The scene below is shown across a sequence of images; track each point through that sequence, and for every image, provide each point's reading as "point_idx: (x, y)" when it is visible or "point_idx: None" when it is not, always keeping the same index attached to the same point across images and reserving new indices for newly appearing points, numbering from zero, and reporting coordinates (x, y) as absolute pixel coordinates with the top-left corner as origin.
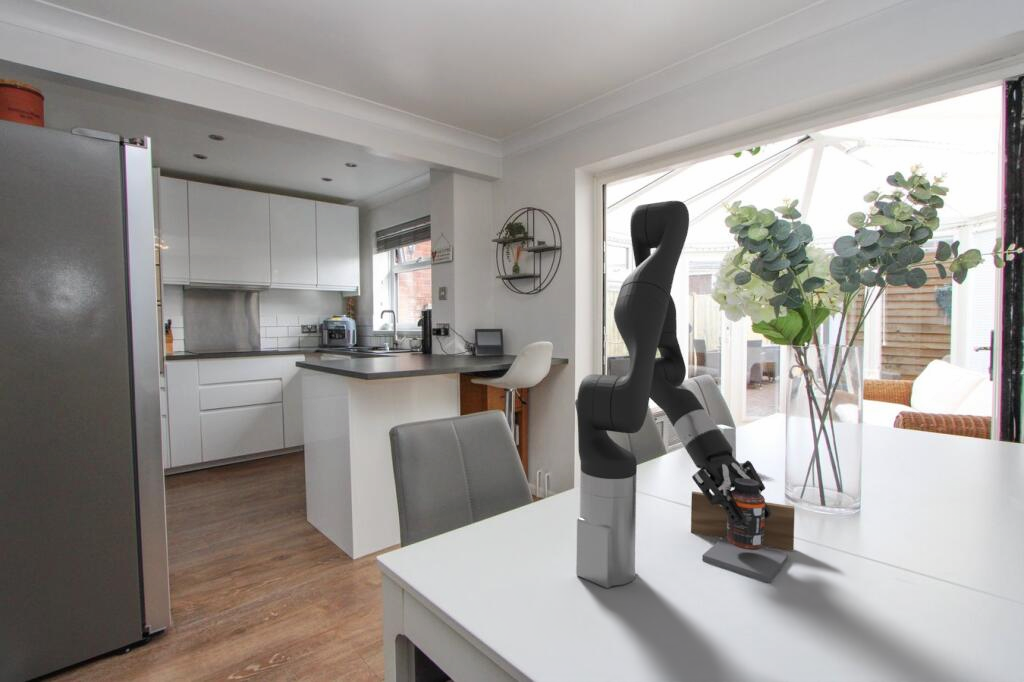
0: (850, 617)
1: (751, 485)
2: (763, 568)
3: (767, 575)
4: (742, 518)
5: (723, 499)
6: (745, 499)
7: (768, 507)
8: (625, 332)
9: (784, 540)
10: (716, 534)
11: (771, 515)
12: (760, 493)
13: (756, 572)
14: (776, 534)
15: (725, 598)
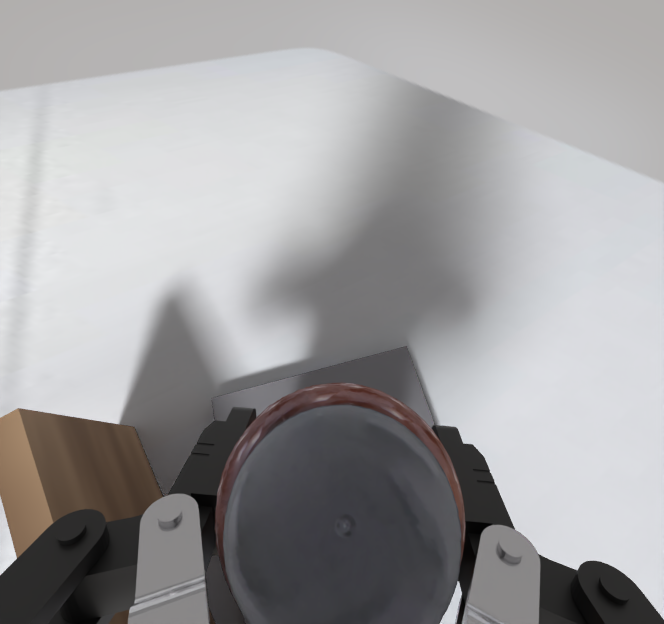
0: (379, 195)
1: (401, 426)
2: (376, 385)
3: (405, 355)
4: (457, 434)
5: (553, 571)
6: (439, 445)
7: (202, 436)
8: None
9: (128, 450)
10: None
11: (88, 504)
12: (170, 496)
13: (418, 382)
14: (128, 477)
15: (581, 368)
